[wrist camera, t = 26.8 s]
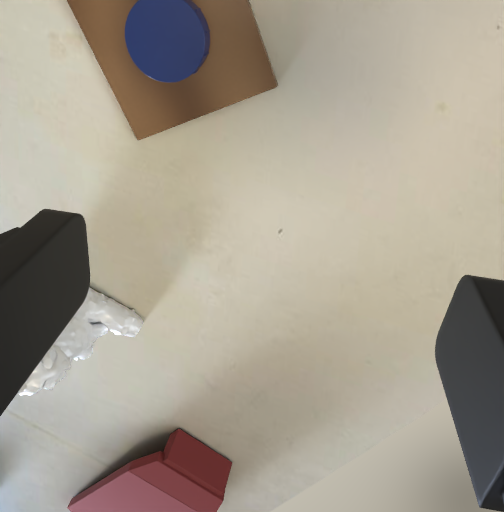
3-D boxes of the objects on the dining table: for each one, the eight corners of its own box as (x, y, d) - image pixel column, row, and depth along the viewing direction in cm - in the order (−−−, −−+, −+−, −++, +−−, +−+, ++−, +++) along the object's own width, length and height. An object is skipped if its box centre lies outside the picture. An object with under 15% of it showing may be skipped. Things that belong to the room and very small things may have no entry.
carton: (147, 515, 73) (244, 470, 58) (134, 549, 69) (234, 511, 54) (80, 476, 70) (165, 419, 55) (63, 510, 66) (148, 458, 51)
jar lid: (119, 45, 34) (110, 48, 33) (157, -28, 32) (149, -28, 30) (184, 94, 36) (177, 99, 34) (225, 27, 33) (220, 30, 32)
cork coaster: (213, -101, 30) (211, -103, 29) (278, 85, 35) (277, 86, 35) (60, -20, 33) (56, -20, 33) (140, 138, 39) (137, 140, 38)
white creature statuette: (84, 353, 52) (25, 446, 42) (28, 295, 49) (-50, 380, 38) (149, 322, 48) (103, 415, 38) (94, 258, 45) (27, 340, 35)
